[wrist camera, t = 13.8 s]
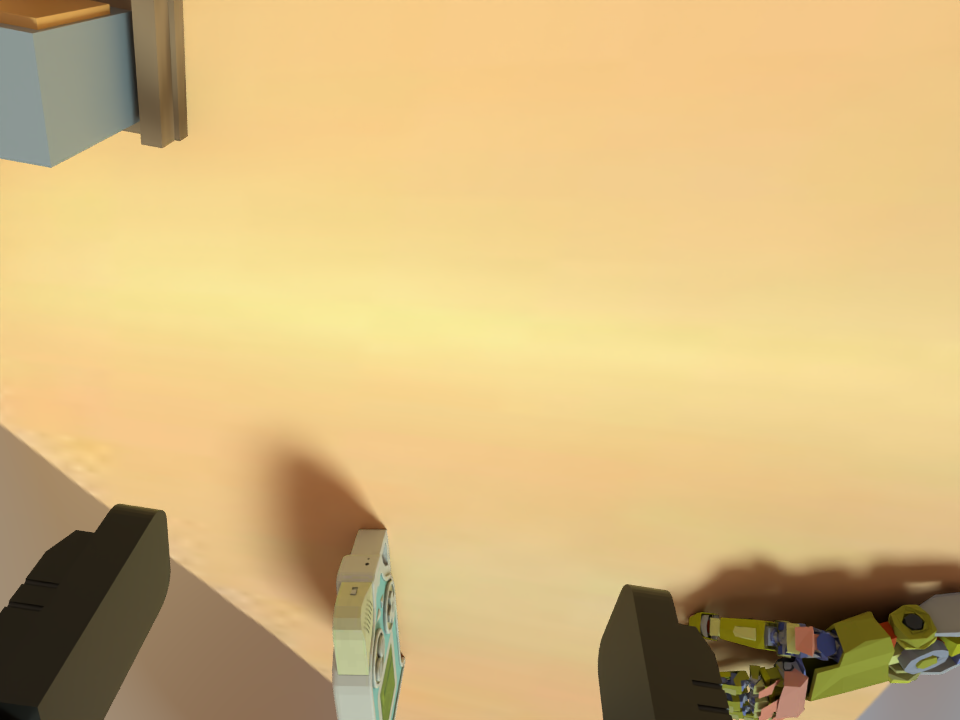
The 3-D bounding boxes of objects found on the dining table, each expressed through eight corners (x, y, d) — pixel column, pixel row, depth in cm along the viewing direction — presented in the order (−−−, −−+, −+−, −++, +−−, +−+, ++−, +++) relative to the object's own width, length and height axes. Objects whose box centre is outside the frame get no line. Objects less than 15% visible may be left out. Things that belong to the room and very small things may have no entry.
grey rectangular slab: (396, 506, 52) (408, 661, 58) (358, 506, 53) (374, 660, 58) (368, 617, 42) (386, 791, 48) (320, 616, 42) (345, 790, 48)
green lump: (980, 681, 55) (664, 772, 55) (918, 597, 60) (631, 679, 60) (1025, 603, 47) (655, 709, 47) (949, 514, 52) (619, 609, 52)
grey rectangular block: (64, -12, 33) (-55, 5, 26) (131, 1, 33) (30, 21, 26) (78, 109, 35) (-26, 153, 28) (140, 120, 35) (51, 167, 29)
